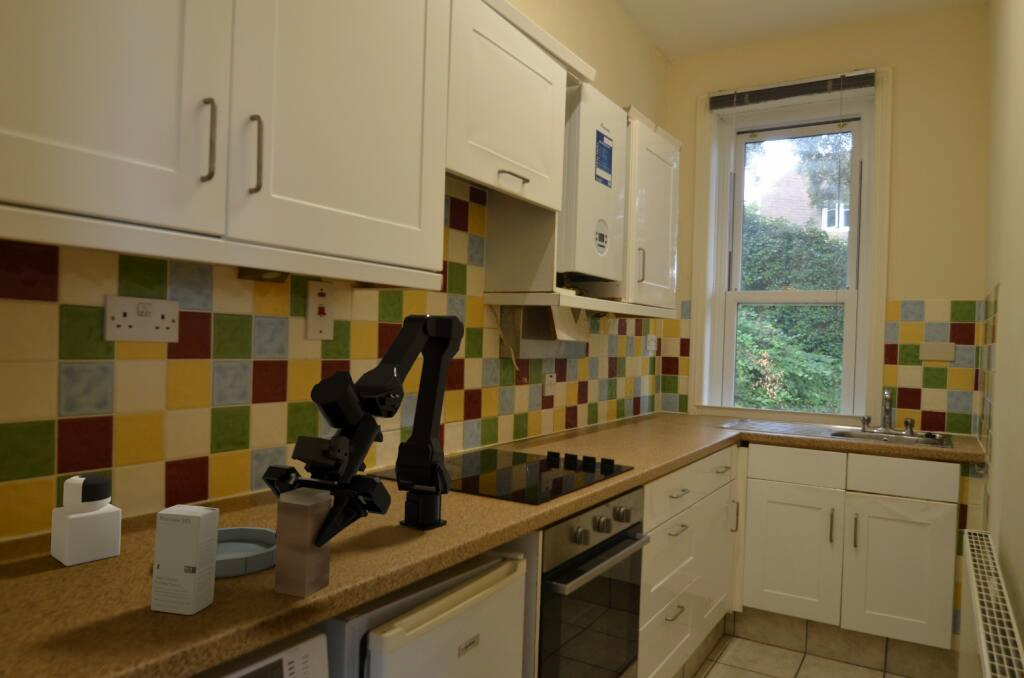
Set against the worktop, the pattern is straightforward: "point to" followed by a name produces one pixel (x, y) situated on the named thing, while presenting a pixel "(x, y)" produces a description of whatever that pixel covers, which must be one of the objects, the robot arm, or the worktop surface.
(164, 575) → the skincare box
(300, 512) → the walnut block
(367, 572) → the worktop surface
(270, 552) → the slate dish
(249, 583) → the worktop surface
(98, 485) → the medicine bottle
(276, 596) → the worktop surface
